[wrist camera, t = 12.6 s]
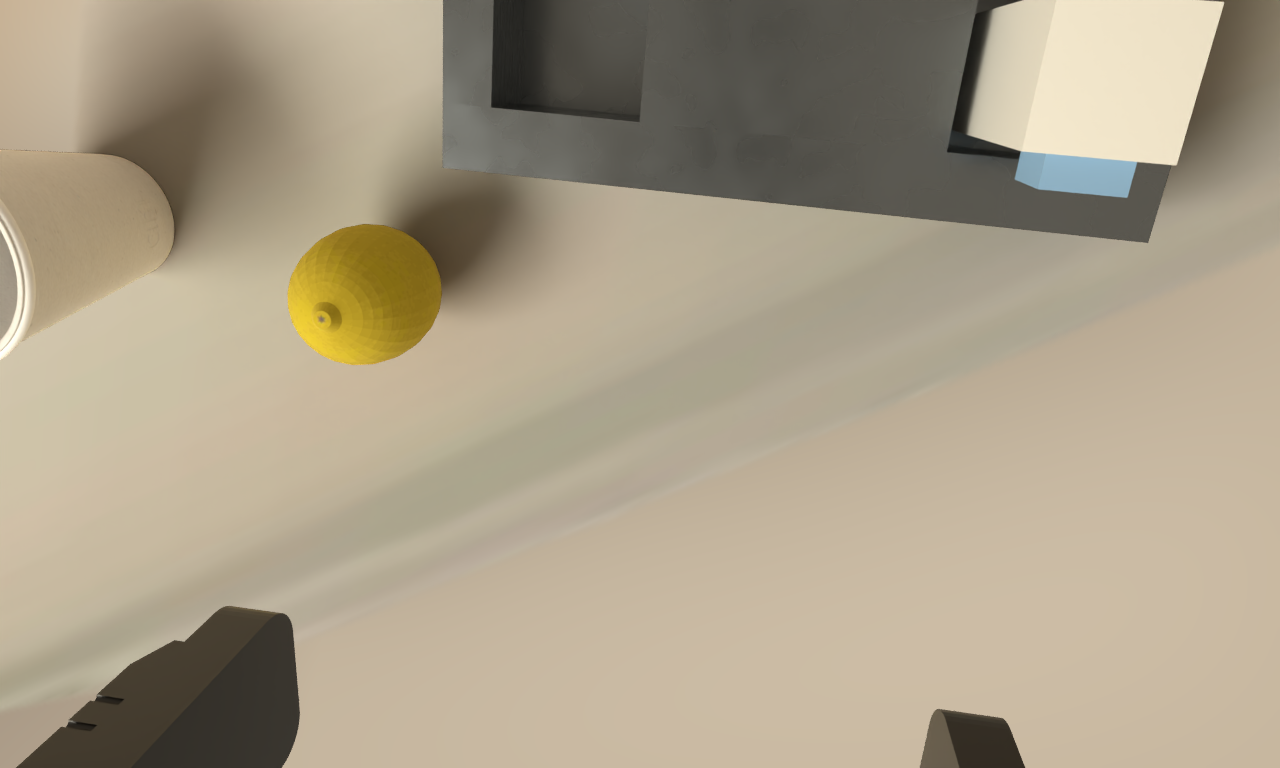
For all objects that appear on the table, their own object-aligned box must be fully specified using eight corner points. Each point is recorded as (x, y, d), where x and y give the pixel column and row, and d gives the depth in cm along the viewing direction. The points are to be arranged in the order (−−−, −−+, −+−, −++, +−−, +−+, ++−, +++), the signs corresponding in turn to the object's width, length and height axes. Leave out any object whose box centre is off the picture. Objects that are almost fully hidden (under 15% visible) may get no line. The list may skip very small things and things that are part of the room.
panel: (489, -112, 33) (441, -144, 28) (1172, -63, 30) (1249, -89, 25) (484, 155, 36) (440, 168, 31) (1095, 219, 34) (1150, 244, 29)
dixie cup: (59, 303, 42) (-145, 369, 32) (13, 124, 39) (-225, 140, 29) (217, 305, 40) (53, 374, 31) (181, 121, 38) (-11, 137, 28)
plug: (970, 15, 31) (1058, -11, 22) (1085, 23, 31) (1224, 2, 21) (943, 155, 33) (1013, 188, 23) (1050, 165, 32) (1165, 203, 23)
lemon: (485, 249, 38) (415, 292, 30) (438, 352, 40) (362, 416, 32) (373, 188, 37) (276, 216, 30) (332, 294, 39) (231, 346, 32)
